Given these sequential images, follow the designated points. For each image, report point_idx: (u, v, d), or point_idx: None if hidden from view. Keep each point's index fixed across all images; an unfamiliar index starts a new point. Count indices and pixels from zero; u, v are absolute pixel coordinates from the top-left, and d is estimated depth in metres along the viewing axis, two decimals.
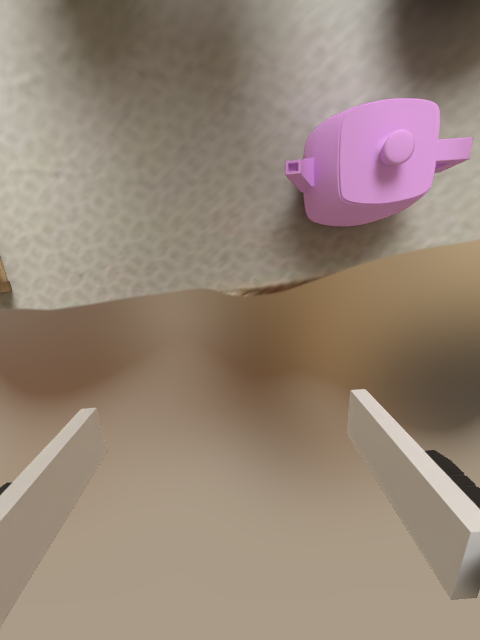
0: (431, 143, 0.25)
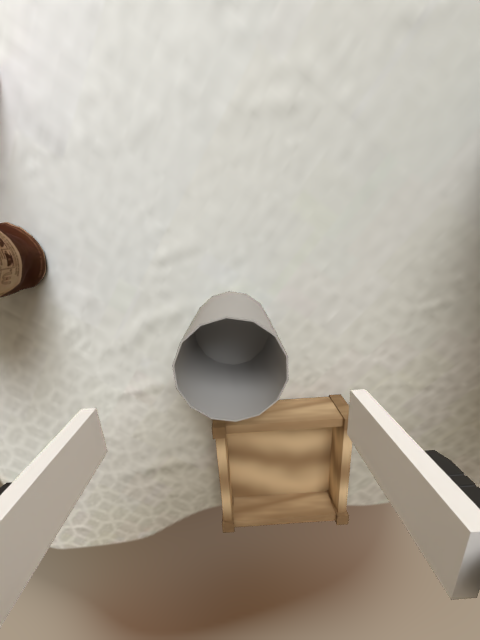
0: None
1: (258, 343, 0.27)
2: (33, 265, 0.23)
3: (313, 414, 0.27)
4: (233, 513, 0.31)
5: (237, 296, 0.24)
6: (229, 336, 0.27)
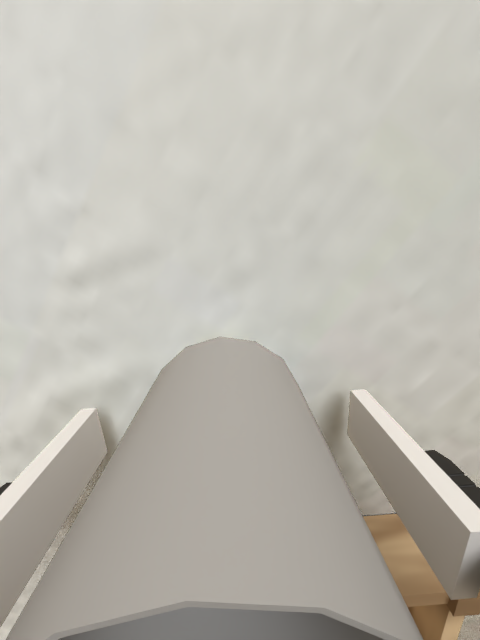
0: None
1: None
2: None
3: None
4: None
5: (238, 356, 0.11)
6: None
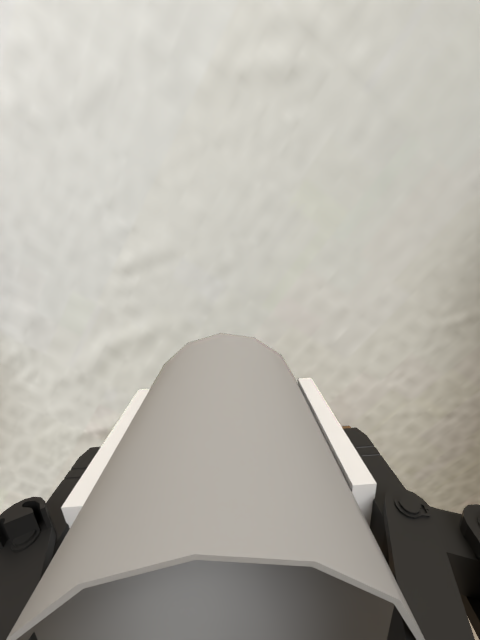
0: None
1: None
2: None
3: None
4: None
5: (238, 351, 0.11)
6: None
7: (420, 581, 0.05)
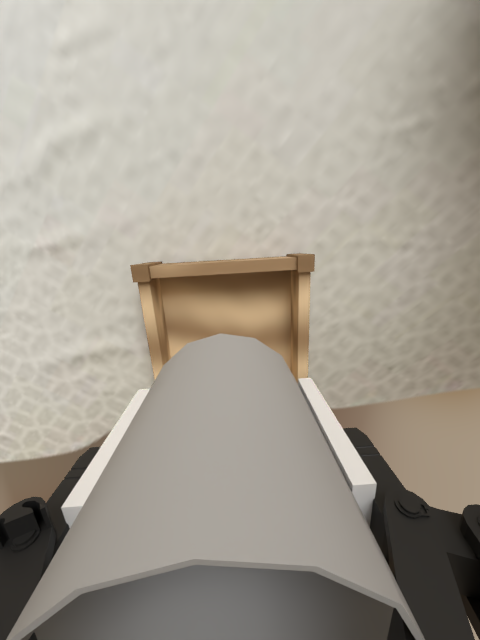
0: None
1: None
2: None
3: (261, 259, 0.22)
4: None
5: (238, 352, 0.11)
6: None
7: (420, 581, 0.05)
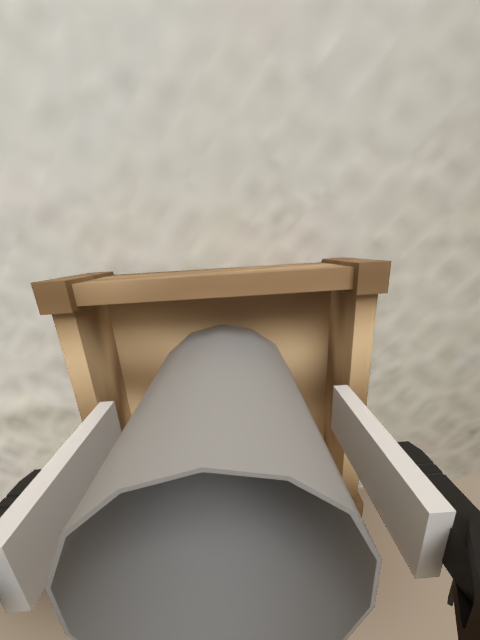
0: None
1: None
2: None
3: (285, 269, 0.12)
4: None
5: (236, 339, 0.13)
6: None
7: None
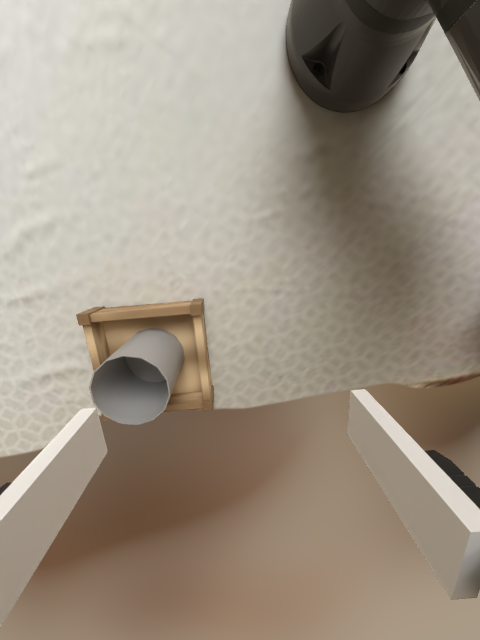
0: None
1: None
2: None
3: (168, 306, 0.32)
4: None
5: (152, 333, 0.33)
6: None
7: None
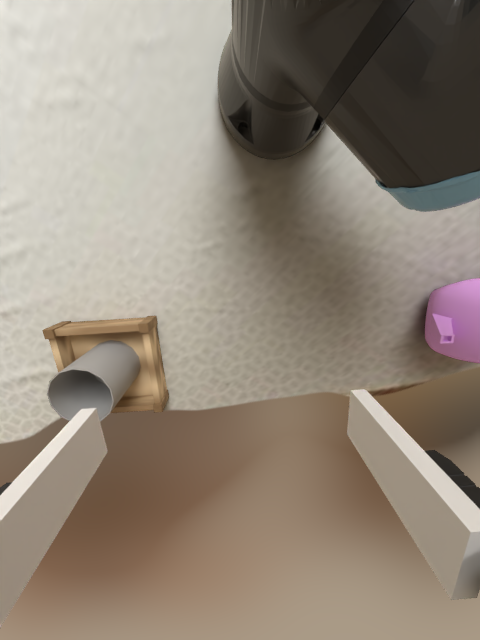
0: None
1: None
2: None
3: (122, 323, 0.37)
4: None
5: (109, 346, 0.38)
6: None
7: None
